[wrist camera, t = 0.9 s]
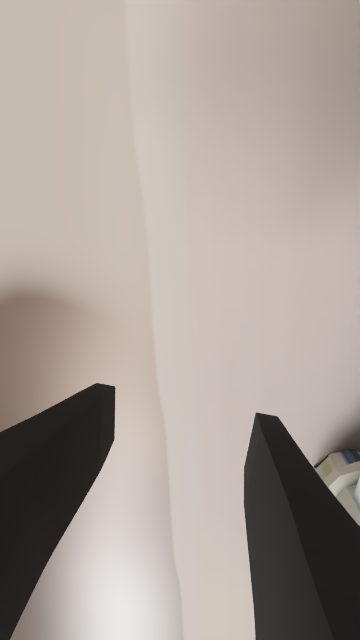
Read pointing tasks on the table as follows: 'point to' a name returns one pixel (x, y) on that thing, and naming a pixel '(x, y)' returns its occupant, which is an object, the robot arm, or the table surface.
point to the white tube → (343, 479)
